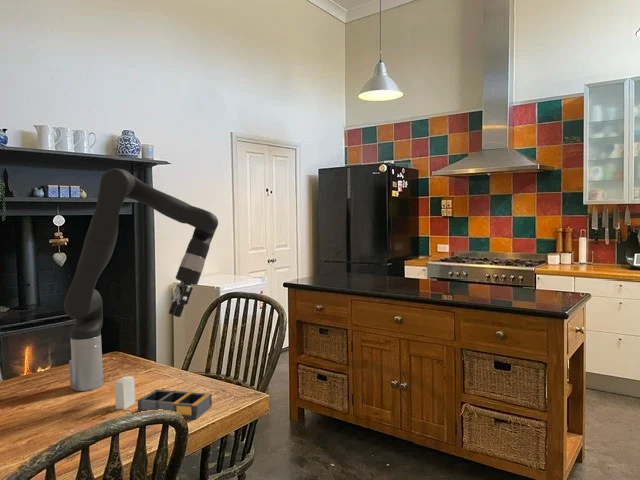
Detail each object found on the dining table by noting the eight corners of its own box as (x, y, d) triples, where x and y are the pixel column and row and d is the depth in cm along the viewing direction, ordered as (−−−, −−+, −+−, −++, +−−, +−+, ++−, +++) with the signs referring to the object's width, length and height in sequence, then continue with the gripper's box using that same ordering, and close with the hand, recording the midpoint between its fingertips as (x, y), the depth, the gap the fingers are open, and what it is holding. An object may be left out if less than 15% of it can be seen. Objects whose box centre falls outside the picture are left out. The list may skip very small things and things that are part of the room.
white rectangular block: (115, 408, 139) (114, 382, 139) (126, 402, 144) (125, 376, 143) (124, 409, 138) (123, 382, 138) (135, 402, 143) (134, 377, 143)
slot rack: (137, 414, 134) (136, 400, 134) (156, 401, 143) (156, 388, 143) (195, 419, 130) (194, 405, 129) (211, 406, 138) (211, 392, 138)
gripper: (175, 265, 163) (159, 310, 159) (184, 264, 150) (166, 313, 146) (196, 272, 166) (180, 317, 162) (206, 272, 153) (189, 320, 150)
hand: (174, 315), depth 154 cm, fingers open, 8 cm apart
